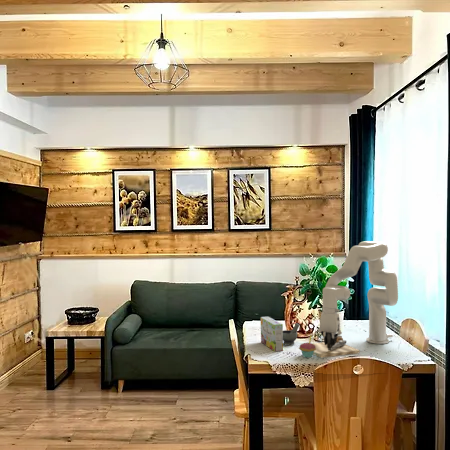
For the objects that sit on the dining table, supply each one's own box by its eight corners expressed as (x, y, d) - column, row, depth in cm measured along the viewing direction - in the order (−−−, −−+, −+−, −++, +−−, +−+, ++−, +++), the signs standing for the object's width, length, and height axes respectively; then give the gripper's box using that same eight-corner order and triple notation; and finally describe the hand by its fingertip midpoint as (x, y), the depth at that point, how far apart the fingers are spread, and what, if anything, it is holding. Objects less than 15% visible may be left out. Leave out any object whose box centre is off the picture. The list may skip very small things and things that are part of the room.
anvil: (339, 340, 305) (339, 335, 305) (341, 341, 303) (341, 336, 303) (332, 341, 303) (332, 336, 303) (334, 342, 301) (334, 336, 301)
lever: (342, 342, 298) (342, 325, 298) (347, 343, 296) (347, 326, 296) (325, 350, 282) (325, 332, 281) (330, 351, 280) (330, 333, 280)
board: (336, 343, 305) (336, 340, 305) (359, 353, 285) (359, 349, 284) (300, 347, 296) (300, 344, 296) (320, 357, 276) (320, 354, 276)
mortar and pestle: (280, 346, 300) (280, 324, 299) (279, 341, 309) (279, 321, 309) (300, 346, 299) (300, 325, 299) (298, 342, 309) (299, 321, 308)
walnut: (340, 341, 303) (340, 335, 302) (344, 343, 299) (344, 337, 299) (335, 342, 301) (335, 336, 301) (338, 343, 298) (338, 337, 298)
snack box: (259, 342, 308) (259, 316, 307) (268, 341, 310) (268, 316, 309) (274, 351, 288) (274, 324, 287) (283, 351, 289) (283, 323, 289)
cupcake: (313, 354, 283) (314, 331, 283) (317, 358, 274) (317, 335, 274) (297, 354, 283) (298, 331, 282) (300, 358, 274) (300, 335, 274)
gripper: (347, 311, 280) (346, 345, 280) (318, 307, 289) (318, 341, 290) (341, 313, 274) (341, 348, 274) (312, 310, 283) (312, 344, 284)
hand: (329, 344), depth 282 cm, fingers closed on lever, 3 cm apart
